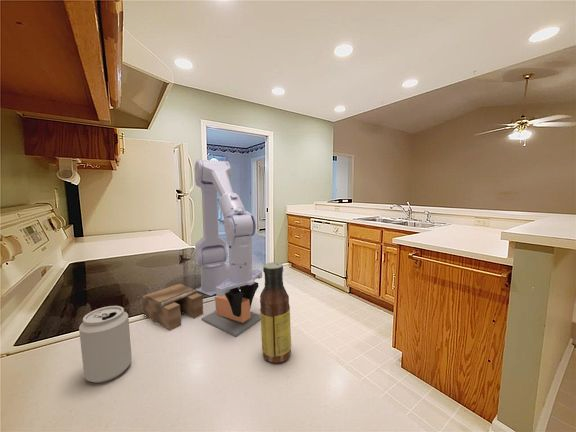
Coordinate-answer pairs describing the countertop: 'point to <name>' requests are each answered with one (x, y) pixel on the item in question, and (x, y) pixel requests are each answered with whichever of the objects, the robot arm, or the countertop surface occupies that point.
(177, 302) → the brown wooden stand
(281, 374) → the countertop surface
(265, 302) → the sauce bottle
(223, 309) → the orange clay brick
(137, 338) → the countertop surface
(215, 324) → the mat
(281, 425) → the countertop surface
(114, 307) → the can
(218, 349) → the countertop surface
